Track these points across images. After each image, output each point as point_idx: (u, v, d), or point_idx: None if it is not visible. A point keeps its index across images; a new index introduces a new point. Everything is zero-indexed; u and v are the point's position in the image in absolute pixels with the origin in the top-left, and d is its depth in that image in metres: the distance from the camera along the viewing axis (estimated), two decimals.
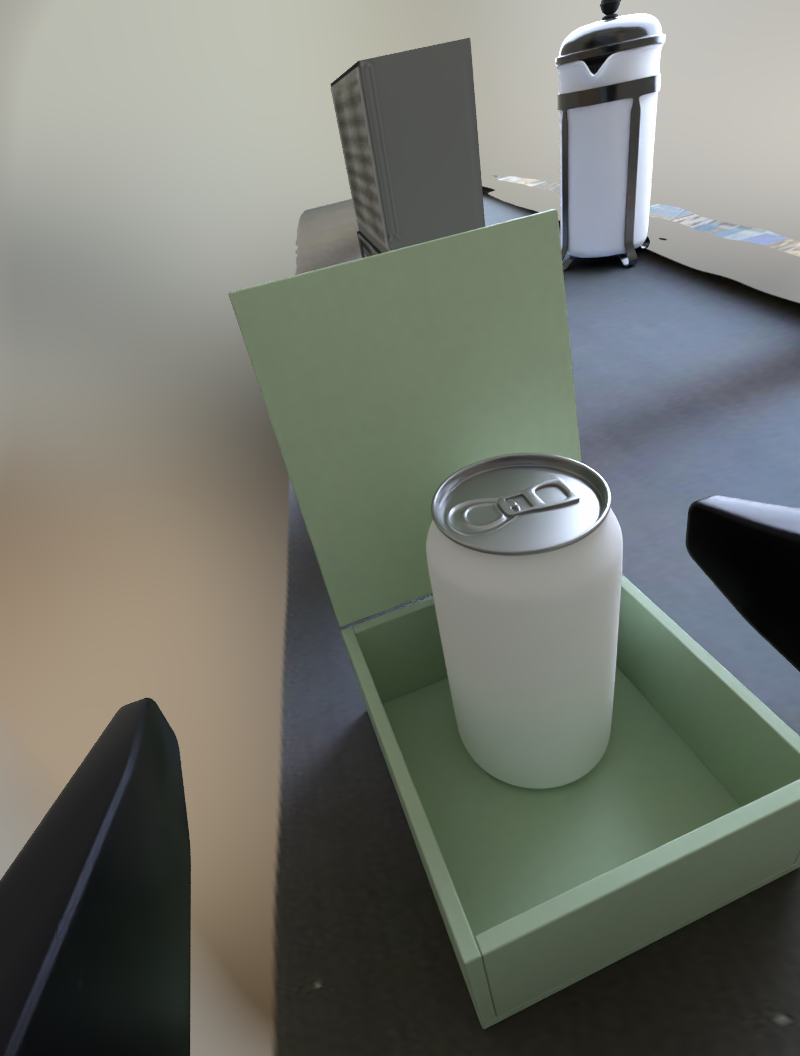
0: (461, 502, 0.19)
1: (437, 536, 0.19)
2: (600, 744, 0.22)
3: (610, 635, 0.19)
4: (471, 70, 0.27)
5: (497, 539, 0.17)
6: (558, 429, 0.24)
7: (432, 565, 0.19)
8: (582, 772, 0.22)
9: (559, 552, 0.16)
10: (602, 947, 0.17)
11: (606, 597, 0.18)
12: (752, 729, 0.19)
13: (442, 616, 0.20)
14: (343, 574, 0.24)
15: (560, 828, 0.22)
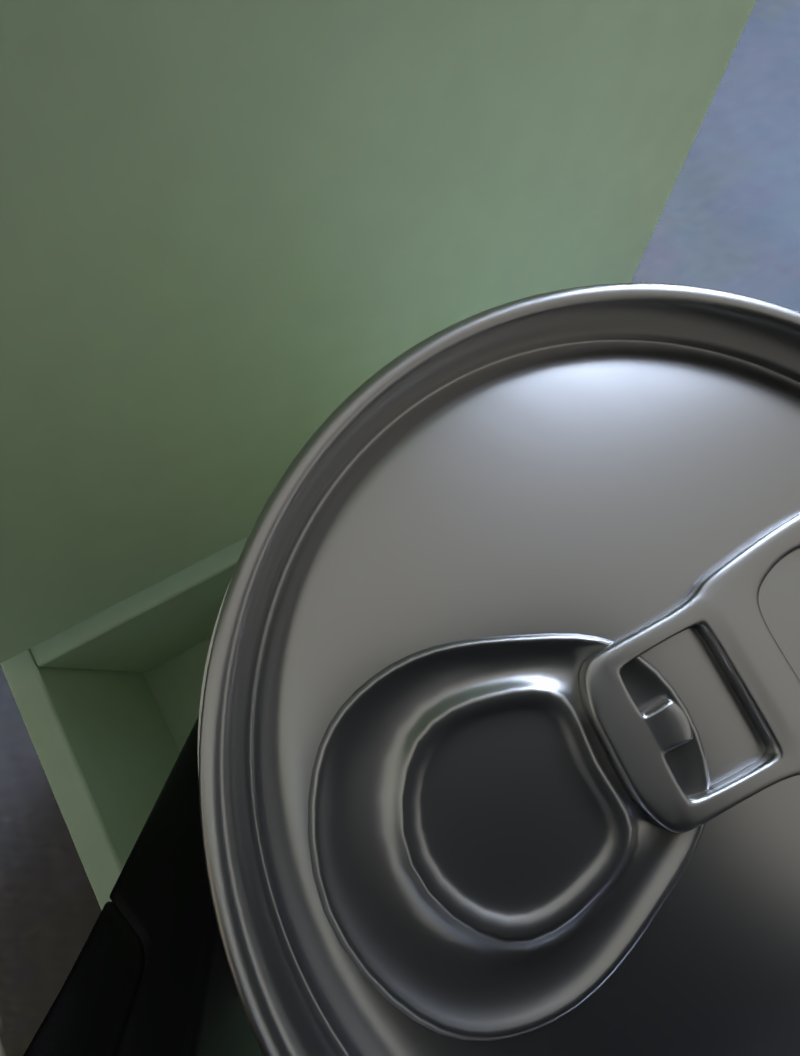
0: (381, 674, 0.03)
1: None
2: None
3: None
4: None
5: None
6: (682, 53, 0.06)
7: None
8: None
9: None
10: None
11: None
12: None
13: None
14: None
15: None
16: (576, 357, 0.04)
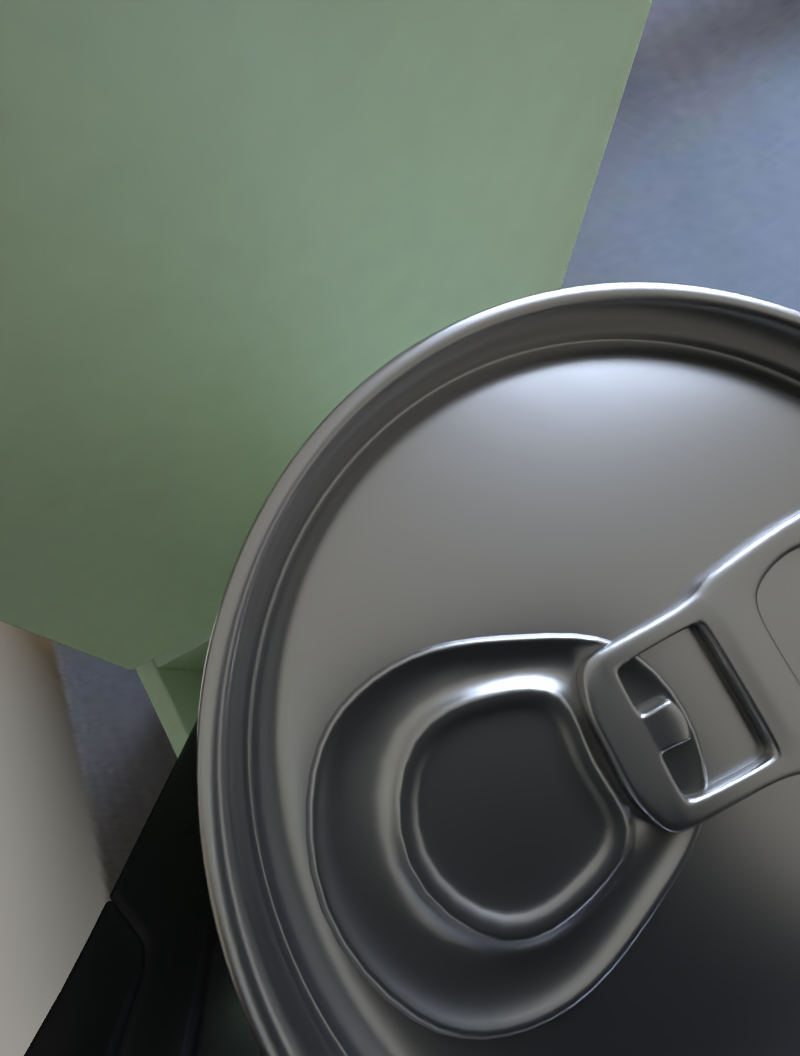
0: (379, 673, 0.03)
1: None
2: None
3: None
4: None
5: None
6: None
7: None
8: None
9: None
10: None
11: None
12: None
13: None
14: (119, 636, 0.13)
15: None
16: (574, 356, 0.04)
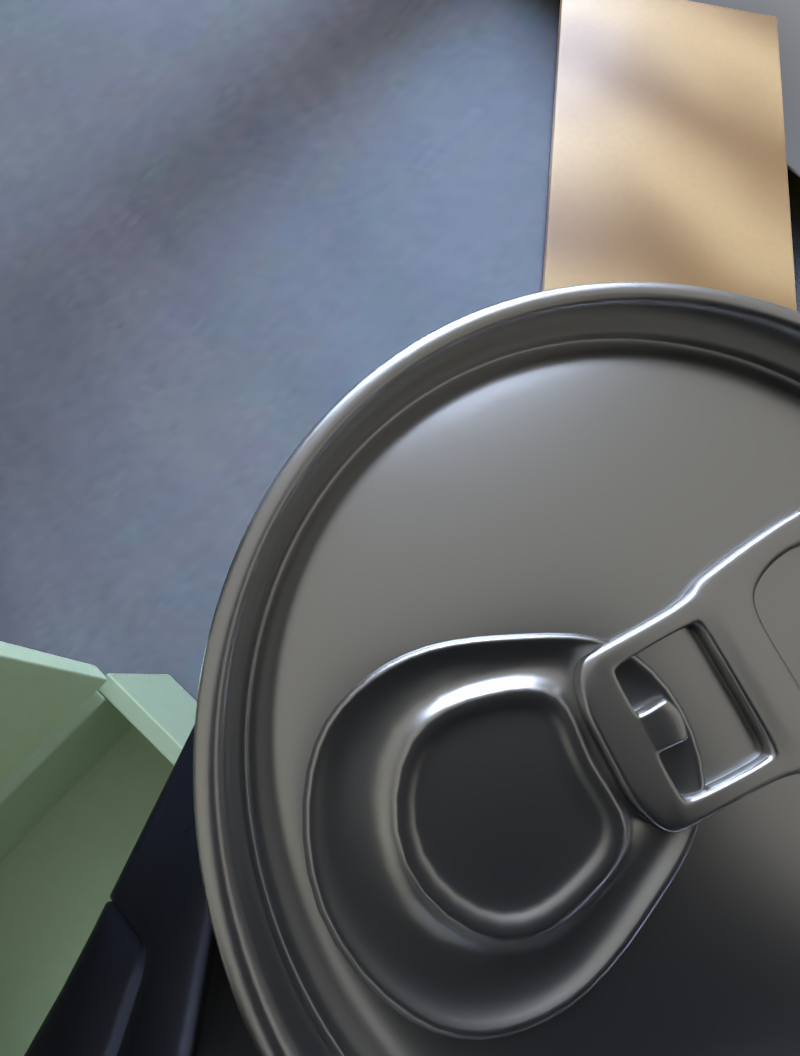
0: (375, 674, 0.03)
1: None
2: None
3: None
4: None
5: None
6: None
7: None
8: None
9: None
10: None
11: None
12: None
13: None
14: None
15: None
16: (572, 356, 0.04)
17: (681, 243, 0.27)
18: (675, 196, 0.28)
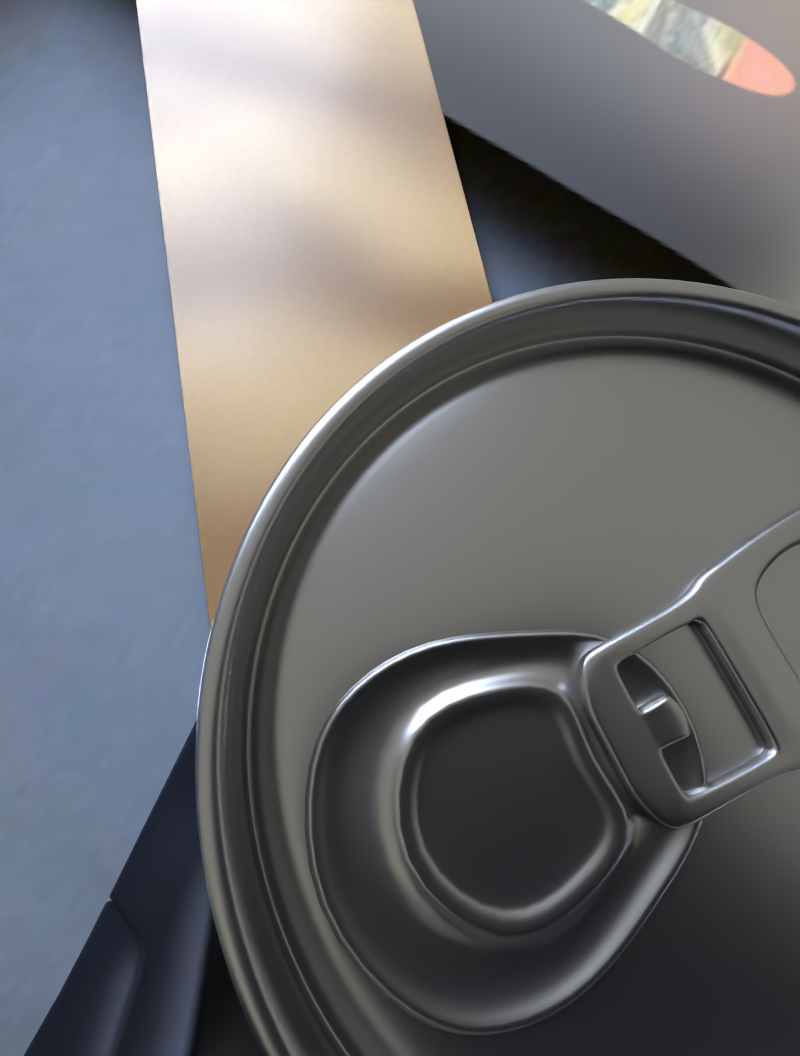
0: (377, 670, 0.03)
1: None
2: None
3: None
4: None
5: None
6: None
7: None
8: None
9: None
10: None
11: None
12: None
13: None
14: None
15: None
16: (574, 353, 0.04)
17: (337, 247, 0.23)
18: (318, 191, 0.23)
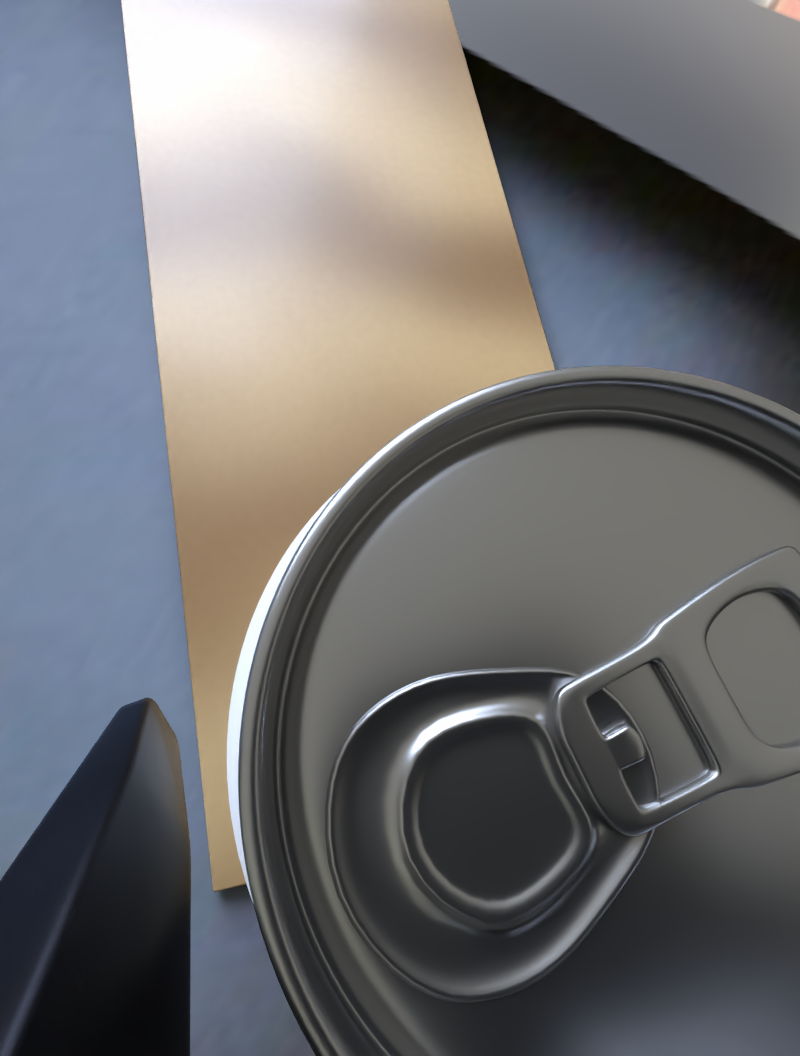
0: (387, 699, 0.04)
1: None
2: None
3: None
4: None
5: (585, 1037, 0.04)
6: None
7: None
8: None
9: None
10: None
11: None
12: None
13: None
14: None
15: None
16: (557, 425, 0.05)
17: (340, 188, 0.19)
18: (318, 125, 0.20)
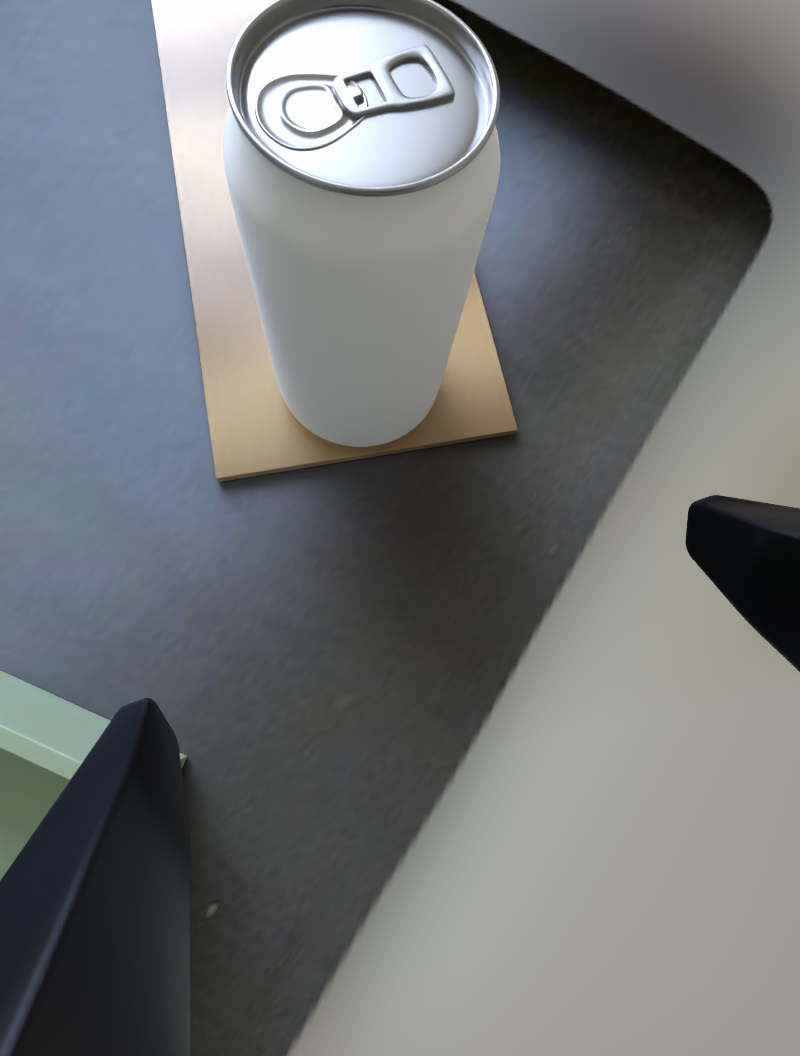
0: (275, 78, 0.12)
1: (241, 143, 0.12)
2: (429, 403, 0.22)
3: (462, 297, 0.16)
4: None
5: (335, 161, 0.12)
6: None
7: (236, 192, 0.13)
8: (408, 429, 0.22)
9: (422, 193, 0.12)
10: None
11: (468, 255, 0.14)
12: None
13: (255, 268, 0.15)
14: None
15: None
16: (345, 10, 0.13)
17: None
18: None
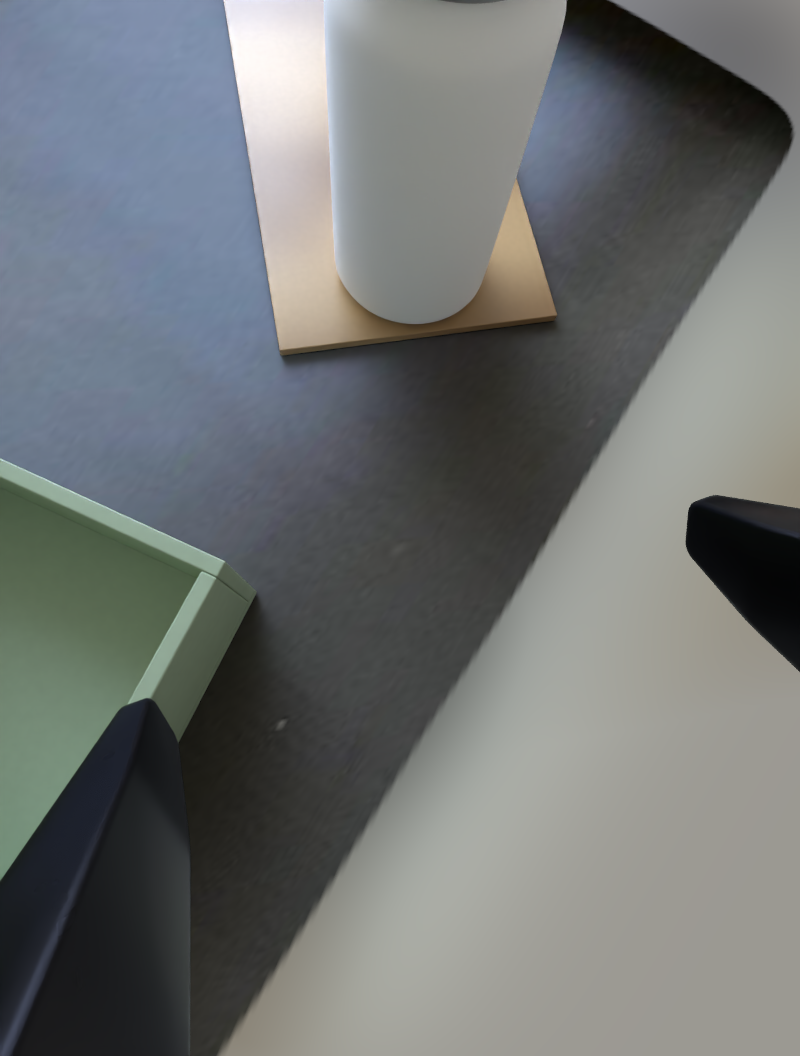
0: None
1: None
2: (478, 280, 0.23)
3: (522, 147, 0.18)
4: None
5: None
6: None
7: (337, 18, 0.14)
8: (457, 308, 0.24)
9: (506, 6, 0.13)
10: None
11: (536, 88, 0.16)
12: (142, 545, 0.17)
13: (343, 106, 0.16)
14: None
15: (47, 722, 0.19)
16: None
17: None
18: None
